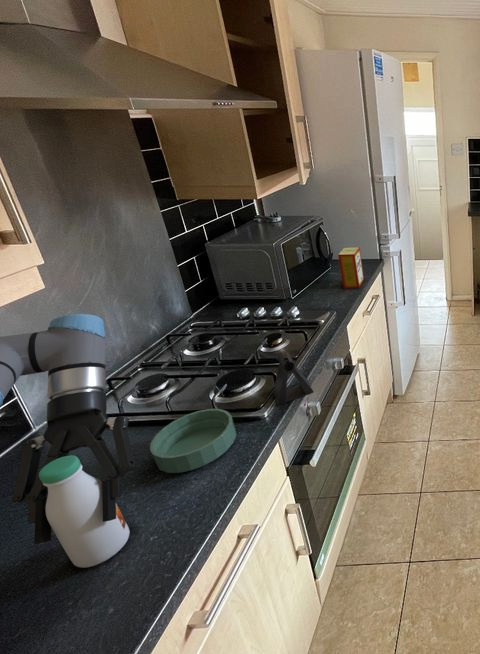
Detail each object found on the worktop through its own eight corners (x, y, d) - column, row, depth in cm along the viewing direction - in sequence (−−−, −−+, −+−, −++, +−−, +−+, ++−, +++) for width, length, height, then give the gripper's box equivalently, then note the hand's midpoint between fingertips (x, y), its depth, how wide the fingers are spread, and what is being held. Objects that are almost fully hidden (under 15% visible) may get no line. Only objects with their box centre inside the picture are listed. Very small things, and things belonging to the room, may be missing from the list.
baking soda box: (359, 288, 181) (354, 253, 175) (343, 288, 180) (338, 254, 174) (364, 279, 189) (359, 246, 183) (349, 280, 189) (344, 246, 183)
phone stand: (277, 405, 110) (268, 368, 106) (273, 394, 115) (264, 357, 110) (313, 392, 116) (305, 356, 111) (308, 382, 120) (300, 346, 115)
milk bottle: (127, 553, 74) (84, 470, 67) (68, 578, 70) (15, 493, 63) (133, 519, 80) (94, 440, 73) (79, 541, 76) (31, 460, 69)
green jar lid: (144, 482, 88) (136, 465, 86) (174, 432, 102) (167, 416, 100) (225, 465, 92) (220, 448, 90) (244, 419, 106) (239, 403, 104)
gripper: (155, 384, 84) (162, 504, 77) (13, 416, 75) (6, 555, 68) (139, 376, 78) (145, 507, 70) (-18, 411, 69) (-29, 564, 62)
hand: (77, 530), depth 69 cm, fingers closed on milk bottle, 8 cm apart
